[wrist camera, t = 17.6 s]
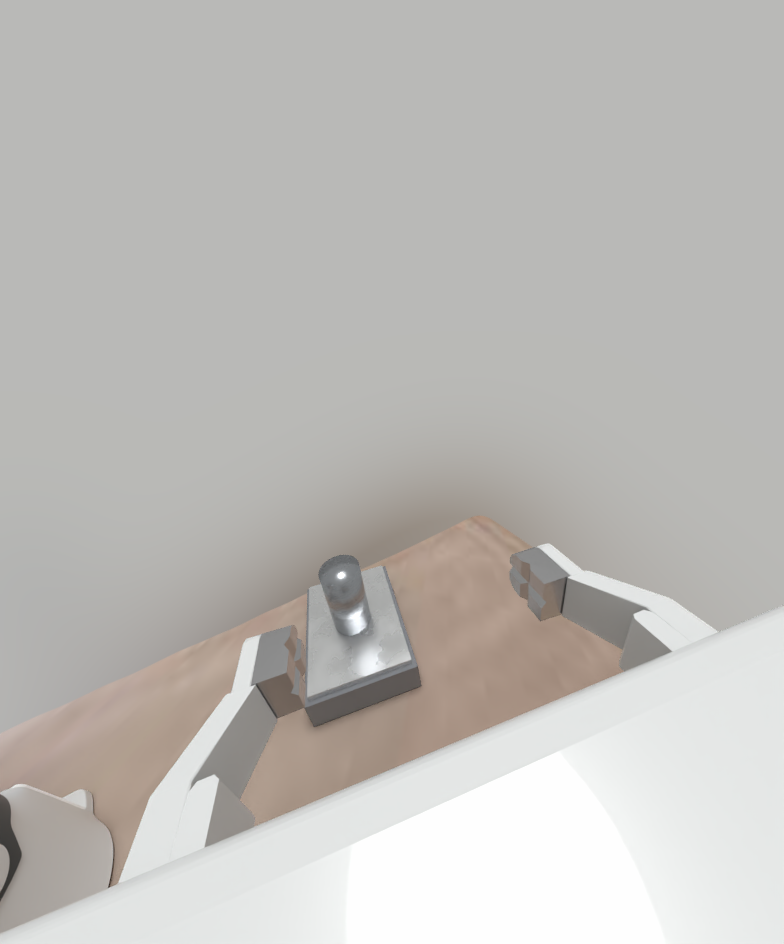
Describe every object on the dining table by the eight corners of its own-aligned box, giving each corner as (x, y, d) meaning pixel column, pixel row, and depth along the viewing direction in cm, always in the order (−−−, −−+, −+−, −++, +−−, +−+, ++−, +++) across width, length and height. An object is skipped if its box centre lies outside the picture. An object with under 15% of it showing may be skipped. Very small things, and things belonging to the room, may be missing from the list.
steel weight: (335, 640, 36) (318, 590, 32) (333, 607, 41) (318, 560, 37) (373, 629, 37) (361, 579, 33) (367, 598, 42) (356, 551, 38)
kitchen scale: (314, 726, 33) (302, 704, 30) (314, 603, 48) (306, 583, 46) (421, 685, 35) (416, 662, 33) (387, 580, 50) (383, 560, 48)
